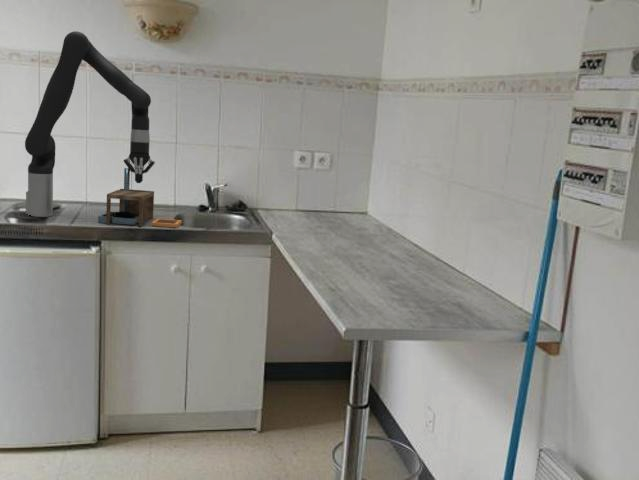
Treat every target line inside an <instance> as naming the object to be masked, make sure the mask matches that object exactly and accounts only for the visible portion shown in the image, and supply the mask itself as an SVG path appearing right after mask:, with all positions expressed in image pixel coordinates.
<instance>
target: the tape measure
mask: <svg viewBox="0 0 639 480" xmlns="http://www.w3.org/2000/svg"><path fill="white" fill-rule="evenodd" d="M113 212H114V213H113V217H120V218H131V213H130V212H119V211H113Z"/></svg>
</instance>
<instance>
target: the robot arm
mask: <svg viewBox="0 0 639 480" xmlns="http://www.w3.org/2000/svg"><path fill="white" fill-rule="evenodd" d="M82 61H84V62H85V63H86V64H88V65H89V66H91V68H93V69H94V70H95V71H96V72H97V73H98V74H99V76H100V77H102V78H103V79H104V80H105V82H107V83H108V84H109V85H110V86H111V88H113V89H114V90H116V91H117V92H118V93H120V94H121V95H123V96H124V97H125V98H126V99H127V100H128V101H129V102H131V103H130V105H131V115H132V116H131V128H130V129H131V130H130V131H131V132H130V145H129V146H130V148H129V155H128V157H127V158H125V159H123V162H124V164H125V165H126V168H129V170H130V173H133V174H134V182H136V184H141V183H142V182H143V178H144V177H143V176H144V174H146V173H148V172H149V171H150V170H151V168H152V167H153V166H154V165H155V164H156V162H155V160H152V159H151V156H150V141H151V140H150V139H151V138H150V137H151V136H150V117H149V107H150V106H151V103H152V99H151V96H150V94H148V93H147V91H145V90H144V89H143V88H141V86H139V85H137V84H136V83H135V82H134V81H133V80H132V79H131V78H130V77H128V75H126V74H125V73H124V72H123V71H122V70H120V68H119V67H117V66H116V65H115V64H113V63H112V62H111V61H110V60H108V59H107V58H106V57H105V56H104V55H103V54H102V53H101V52H99V50H98V49H97V48H96V47H95V46H94V45H93V43H92V42H91V41H90V39H89V38H88V36H87V35H85V34H84V33H83V32H81V31H71V32H69V33H67V34H66V35H65V37H64V38H63V43H62V48H61V53H60V55H59V60H58V63H57V65H56V67H55V69H54V71H53V73H52V74H51V77H50V79H49V80H48V83H47V85H46V89H45V91H44V94H43V96H42V100H41V103H40V106H39V108H38V111H37V114H36V117H35V119H34V122H33V124H32V125H31V128H30V130H29V131H28V133H27V135H26V138H25V140H24V148H25V150H26V152H27V153H28V154H29V155H30V156H31V161H30V163H29V165H28V166H27V191H26V192H25V215H26V214H28V215H27V216H29V215H31V216H30V217H37V218H38V217H39V218H45V217H46V218H48V217H52V216H53V212H54V210H53V209H54V205H53V203H54V201H53V199H54V168H55V164H56V142H55V139H54V137H53V136H52V134H51V133H52V131H53V129H54V126H55V125H56V123H57V122H58V120H59V119H60V117H61V116H62V115H63V114H64V112H65V111H66V108H67V107H68V105H69V102H70V99H71V96H72V94H73V90H74V87H75V83H76V77H77V73H78V70H79V67H80V65H81V64H82ZM131 163H132V164H133V165H132V164H131ZM147 164H148V165H147ZM146 165H147V166H146ZM145 166H146V167H145Z"/></svg>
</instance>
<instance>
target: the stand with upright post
mask: <svg viewBox="0 0 639 480" xmlns="http://www.w3.org/2000/svg"><path fill="white" fill-rule="evenodd" d="M123 170H124V171H123V189H124V190H125V191H129V189H130V183H131V182H130V181H131V180H130V178H131V177H130V176H131V171H130V170H129V168H128V167H124V169H123ZM114 212H115V211H110V224H118V225H130V226H135V225H136V224H137V223H138V224H139V214H135V213H131V218H120V217H113V213H114ZM123 212H129V200H126V199H124V206H123ZM97 223H103V224H106V212H103V213H102V214H100V215H98V217H97Z"/></svg>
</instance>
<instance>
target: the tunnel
mask: <svg viewBox="0 0 639 480" xmlns="http://www.w3.org/2000/svg"><path fill="white" fill-rule="evenodd" d="M111 199H113V200H119V204H118V205H119V207H118V209H119V211H118V212H123V206H124V199H126V200H129V212H130V213H135V214H139V222H138V227H139V226H140V228H143V227H142V226H144V225H143V223H144V220H153V221H154V211H155V210H154V209H155V208H154V207H155V206H154V205H155V204H154V203H155V191H154V190H142V189H130V188H129V191H125V190H124V188H119V189H117V190H114V191H111V192H109V193H107V194H106V210H105V211H106V212H105V213H106V223H105V224H106V225H109V226H110V225H111V223H110V212H111V209H112V207H111V205H112V203H111V201H112V200H111Z"/></svg>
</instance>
